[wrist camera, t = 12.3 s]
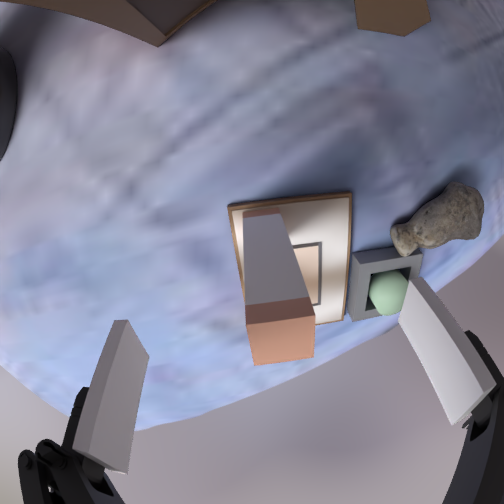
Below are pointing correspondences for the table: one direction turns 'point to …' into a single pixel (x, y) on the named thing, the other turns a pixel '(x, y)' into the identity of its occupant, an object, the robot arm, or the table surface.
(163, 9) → the photo frame
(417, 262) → the button housing
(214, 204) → the table surface
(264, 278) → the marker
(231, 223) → the cream rectangular board
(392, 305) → the button
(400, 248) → the stone
